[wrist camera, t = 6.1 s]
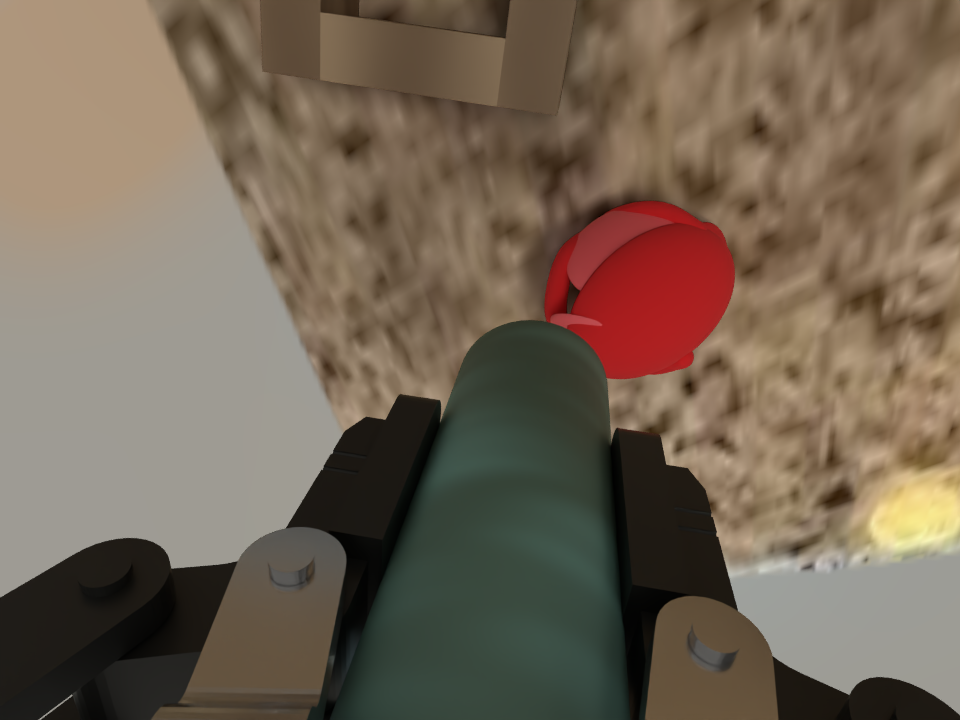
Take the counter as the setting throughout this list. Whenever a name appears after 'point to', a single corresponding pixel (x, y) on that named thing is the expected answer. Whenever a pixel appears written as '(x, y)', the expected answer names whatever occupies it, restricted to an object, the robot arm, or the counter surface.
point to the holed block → (424, 52)
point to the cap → (642, 287)
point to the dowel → (505, 551)
